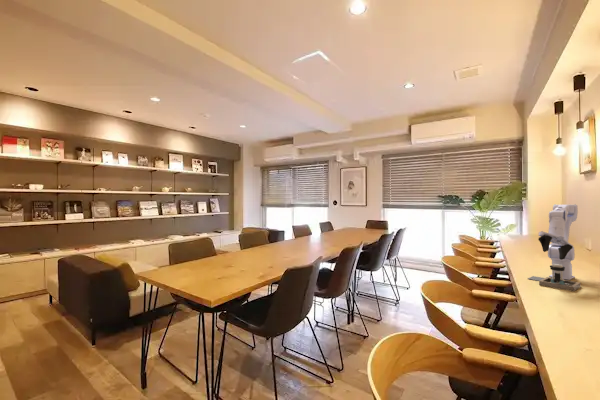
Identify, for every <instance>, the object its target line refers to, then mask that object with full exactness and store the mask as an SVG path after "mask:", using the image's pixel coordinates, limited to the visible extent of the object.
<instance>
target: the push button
mask: <svg viewBox="0 0 600 400" xmlns="http://www.w3.org/2000/svg"><path fill="white" fill-rule="evenodd" d="M549 267H550V270H551V275H552V277H551V278H552V279H551V283H557V284H562V285H565V284H566V283H565V281H564V280H565V279H563V271H564V269H565V267H563V266H562V265H561V264H552V263H551V265H549ZM554 271H555V279H554ZM560 272H561V276H560Z"/></svg>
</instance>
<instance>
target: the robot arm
mask: <svg viewBox="0 0 600 400" xmlns="http://www.w3.org/2000/svg"><path fill="white" fill-rule="evenodd" d="M578 213H579V211H578V205H577V204H576V203H575V204H553V206H552V210H551V211H549V212H548V223H549V225H548V232H545V231H543V230H542V231H539V232H538V236H539V237H538V241H539V242H540V245H541V249H542V251H543V252H544V253H545V252H547V257H548V258H549V259H550V260H551V265H552V264H561V265H562V266H563V267H565V269H564V271H563V279H564V280H567V281H571V280H572V279H574V278H575V275H573V265H572V261H574V260H575V255H576V254H575V247H574V245H573V244H571V243H570V242H569V238H570V230H571V226H572V224H573V222H576V221H577V218H578ZM548 276H549V278H552V274H550V275H548ZM560 276H561V272H560ZM554 278H555V271H554Z"/></svg>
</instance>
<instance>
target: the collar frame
mask: <svg viewBox="0 0 600 400" xmlns="http://www.w3.org/2000/svg"><path fill="white" fill-rule="evenodd" d="M543 278H544V279H542V280H540V281H538V283H539V284H538V285H539V286H543V287H547V288H553V289H558V290H564V291H570V292H575V291H577V290H579V288H581V287H582V284H581V282H578V281H572V280H567V279H564V281H565V283H566V284H565V285H562V284H557V283H551V279H552V277H543ZM554 279H555V278H554Z"/></svg>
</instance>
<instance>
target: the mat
mask: <svg viewBox="0 0 600 400" xmlns="http://www.w3.org/2000/svg"><path fill="white" fill-rule="evenodd" d="M544 278H545V277H541V276H535V275H532V276H529V277H528V278H527V280H530V281H535V282H539V281H540V280H542V279H544Z"/></svg>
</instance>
